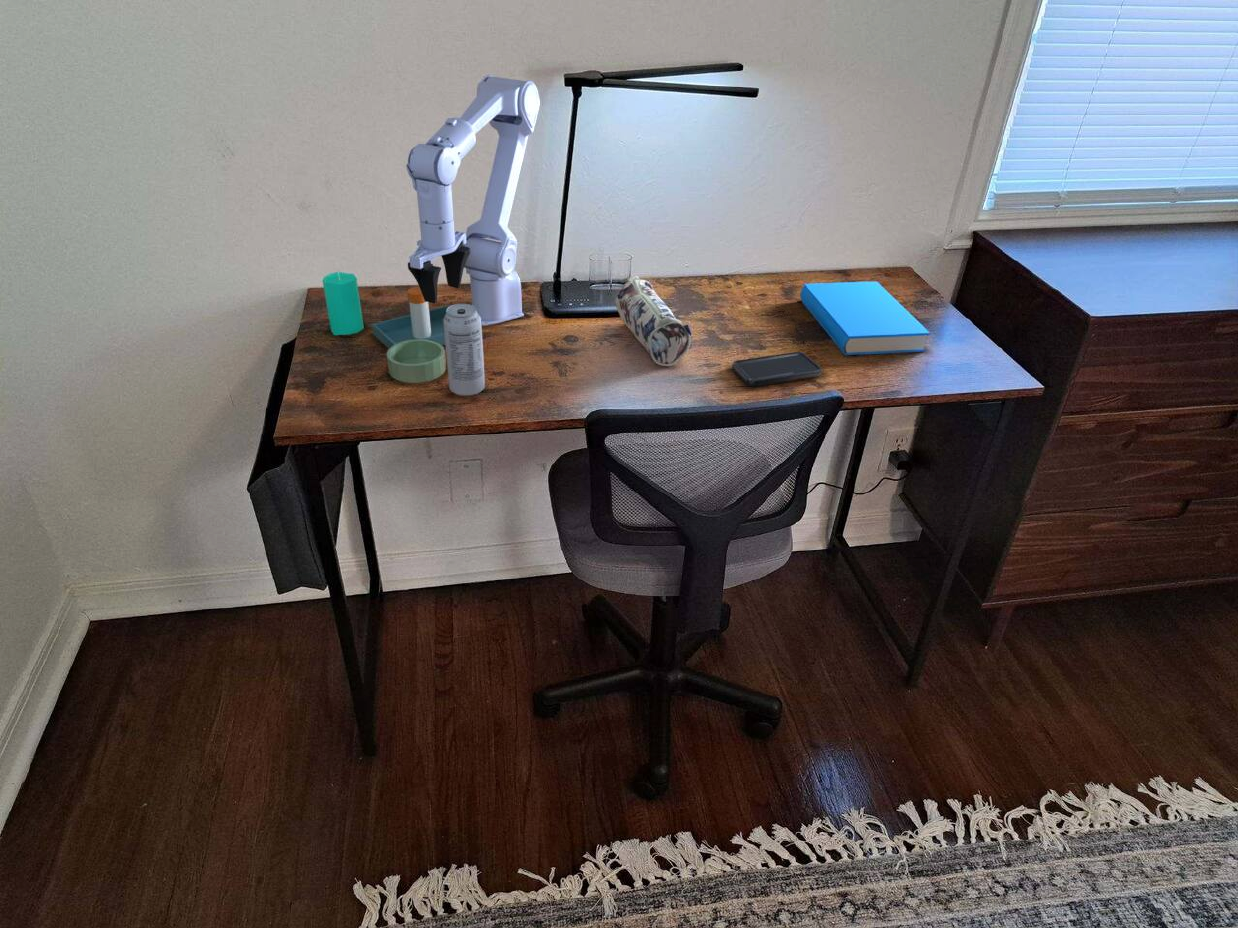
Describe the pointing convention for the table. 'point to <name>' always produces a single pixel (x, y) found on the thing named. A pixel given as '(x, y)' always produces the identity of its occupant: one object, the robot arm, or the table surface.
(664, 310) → the pencil case
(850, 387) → the table surface
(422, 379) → the green round bowl
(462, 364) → the energy drink can
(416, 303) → the glue stick
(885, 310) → the book
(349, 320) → the candle
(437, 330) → the tray
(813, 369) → the phone
